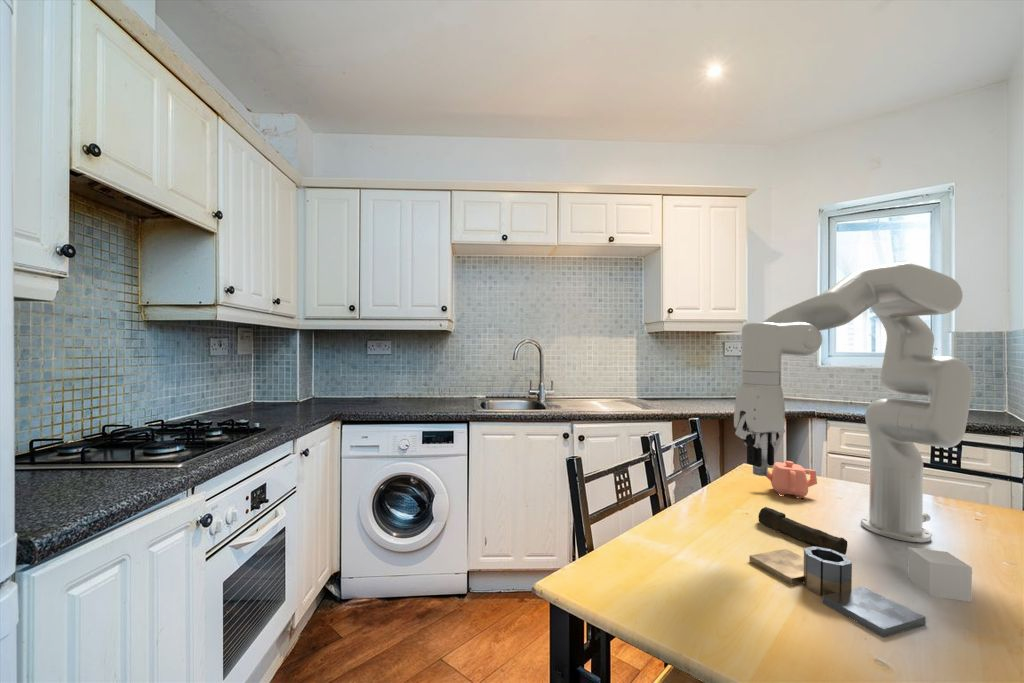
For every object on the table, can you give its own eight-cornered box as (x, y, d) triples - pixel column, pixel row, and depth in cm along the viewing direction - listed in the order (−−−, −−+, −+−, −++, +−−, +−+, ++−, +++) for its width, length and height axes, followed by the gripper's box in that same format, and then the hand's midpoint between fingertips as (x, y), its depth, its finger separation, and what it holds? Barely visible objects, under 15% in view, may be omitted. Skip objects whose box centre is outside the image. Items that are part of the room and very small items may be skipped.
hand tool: (849, 557, 90) (849, 534, 90) (837, 559, 89) (837, 537, 89) (766, 522, 108) (767, 503, 108) (755, 524, 106) (755, 505, 106)
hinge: (785, 554, 90) (786, 525, 90) (925, 624, 68) (926, 586, 68) (749, 561, 87) (749, 531, 87) (883, 637, 64) (884, 596, 64)
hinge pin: (759, 471, 95) (759, 426, 95) (770, 475, 92) (771, 428, 92) (749, 472, 94) (750, 426, 94) (760, 476, 91) (761, 429, 91)
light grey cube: (946, 584, 80) (947, 551, 80) (971, 602, 74) (972, 567, 74) (907, 578, 82) (908, 546, 82) (929, 596, 76) (929, 561, 76)
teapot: (756, 489, 132) (756, 458, 133) (785, 486, 136) (785, 455, 136) (791, 502, 121) (791, 468, 122) (821, 498, 125) (822, 465, 125)
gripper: (773, 377, 99) (772, 457, 99) (717, 378, 94) (717, 463, 94) (804, 380, 92) (804, 466, 92) (746, 381, 87) (746, 472, 87)
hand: (760, 463), depth 93 cm, fingers closed on hinge pin, 2 cm apart
